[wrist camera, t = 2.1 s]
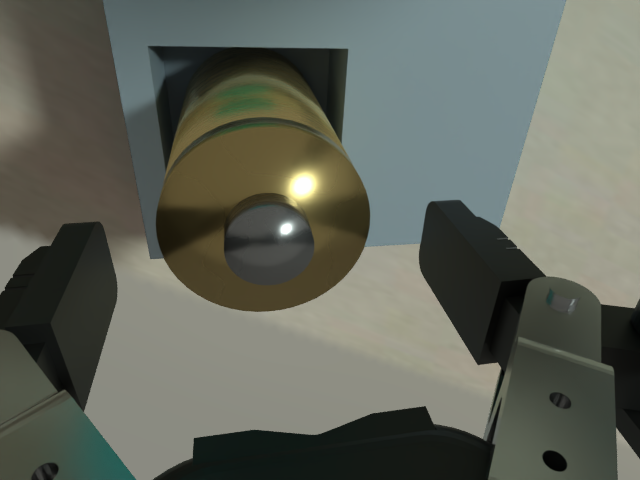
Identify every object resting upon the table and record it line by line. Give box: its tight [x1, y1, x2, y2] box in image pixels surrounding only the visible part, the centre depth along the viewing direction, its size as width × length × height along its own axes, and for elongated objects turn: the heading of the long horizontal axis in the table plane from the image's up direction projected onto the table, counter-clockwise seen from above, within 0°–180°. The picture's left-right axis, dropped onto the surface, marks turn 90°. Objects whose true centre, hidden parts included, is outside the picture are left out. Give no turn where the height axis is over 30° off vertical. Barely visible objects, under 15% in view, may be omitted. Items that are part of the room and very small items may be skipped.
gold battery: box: [156, 47, 370, 312], centre depth 14 cm, size 5×5×10 cm
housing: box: [103, 0, 566, 259], centre depth 18 cm, size 10×14×4 cm
